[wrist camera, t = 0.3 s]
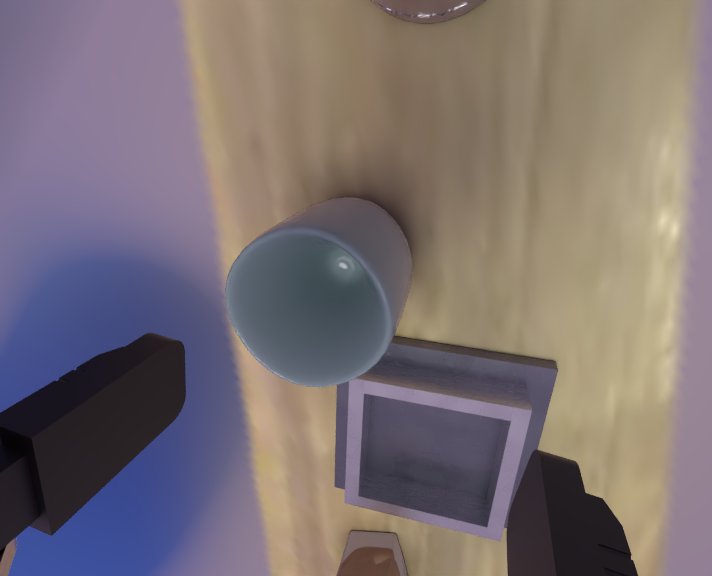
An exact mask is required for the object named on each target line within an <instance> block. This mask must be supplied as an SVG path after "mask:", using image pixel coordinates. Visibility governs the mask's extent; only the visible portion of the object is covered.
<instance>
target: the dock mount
mask: <svg viewBox="0 0 712 576" xmlns="http://www.w3.org/2000/svg"><path fill="white" fill-rule="evenodd" d="M557 372H558V368H557V365H556V362H555V361H549V360H543V359H537V358H530V357H524V356H517V355H511V354H505V353H498V352H492V351H486V350H479V349H473V348H466V347H460V346H454V345H447V344H441V343H435V342H428V341H422V340H415V339H409V338H403V337H396V336H394V337H393V340H392V342H391V344H390V346H389V348H388V349H387V351H386V352H385V353H384V355H383V356H382V357H381V359H380V360H379V361H378V362H377V363H376V364H375V365H374V366H373V367H372V368H370V369H369V370H368V371H367V372H366V373H364V374H362V375H360V376H359V377H357V378H355V379H353V380H351V381H348V382H345V383H342V384H339V385H337V409H336V449H335V487H337V488H341V489H345V503H346V504H350V505H354V506H358V507H363V508H367V509H371V510H375V511H379V512H383V513H387V514H391V515H395V516H399V517H403V518H407V519H411V520H415V521H419V522H423V523H427V524H431V525H436V526H440V527H444V528H448V529H452V530H456V531H460V532H464V533H468V534H472V535H476V536H480V537H484V538H488V539H492V540H496V541H500V540H501V536H502V532H503V528H507V524H508V517H509V512H510V508H511V505H512V502H513V499H514V497H515V494H516V492H517V489H518V487H519V484H520V481H521V479H522V476H523V474H524V471H525V469H526V466H527V464H528V461H529V458H530V456H531V454H532V452H533V451H534V450H537V449H538V445H539V441H540V437H541V434H542V430H543V426H544V422H545V418H546V414H547V410H548V407H549V403H550V399H551V395H552V391H553V387H554V384H555V380H556V376H557Z"/></svg>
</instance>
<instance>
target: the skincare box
mask: <svg viewBox="0 0 712 576" xmlns="http://www.w3.org/2000/svg"><path fill="white" fill-rule="evenodd" d="M336 576H407V571H406V567H405V563H404V559H403V556H402V552H401V549H400V545H399V542H398V539H397V536H396V534H395V533H381V532H365V531H351V532H350V534H349V537H348V541H347V544H346V547H345V550H344V553H343V556H342V560H341V563H340V566H339V569H338V572H337V575H336Z"/></svg>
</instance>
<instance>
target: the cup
mask: <svg viewBox="0 0 712 576" xmlns="http://www.w3.org/2000/svg"><path fill="white" fill-rule="evenodd" d="M411 278H412V257H411V251H410V248H409V245H408V242H407V239H406V237H405V235H404V233H403V231H402V229H401V227H400V226H399V225H398V223H397V222H396V221H395V219H394V218H393V217H392V216H391V215H390V214H389V213H388V212H387V211H386V210H385V209H383V208H381V207H380V206H378V205H377V204H375V203H373V202H371V201H368V200H365V199H362V198H353V197H343V198H335V199H330V200H327V201H324V202H321V203H318V204H315V205H312V206H310V207H308V208H306V209H304V210H302V211H300V212H298V213H296V214H295V215H293V216H291V217H289V218H287V219H286V220H284V221H282V222H280V223H279V224H277V225H275V226H273V227H272V228H270V229H268V230H267V231H265V232H264V233H262V234H261V235H259V236H258V237H257V238H256V239H255V240H253V241H252V242H251V243H250V244H249V245H248V246H246V247H245V248H244V250H243V251H242V252H241V253H240V255H239V256H238V257H237V259H236V260H235V261H234V263H233V265H232V267H231V269H230V272H229V274H228V277H227V282H226V288H225V294H226V306H227V309H228V313H229V317H230V320H231V322H232V324H233V327H234V329H235V331H236V333H237V335H238V336H239V338H240V339H241V341H242V342H243V344H244V345H245V347H246V348H247V349H248V350H249V352H250V353H251V354H252V355H253V356H254V357H255V359H256V360H258V361H259V362H260V363H261V364H262V365H263V366H264V367H266V368H267V369H268V370H269V371H271V372H272V373H274V374H276V375H277V376H279V377H280V378H282V379H285V380H287V381H289V382H292V383H294V384H298V385H303V386H308V387H327V386H333V385H339V384H342V383H345V382H348V381H351V380H353V379H355V378H357V377H359V376H360V375H362V374H364V373H366V372H367V371H368V370H369V369H370V368H372V367H373V366H374V365H375V364H376V363H377V362H378V361H379V360H380V359H381V357H382V356H383V355H384V353H385V352H386V351H387V349H388V348H389V346H390V344H391V342H392V340H393V337H394V335H395V332H396V330H397V327H398V325H399V322H400V319H401V317H402V314H403V311H404V308H405V305H406V302H407V299H408V296H409V292H410V286H411Z"/></svg>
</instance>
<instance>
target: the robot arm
mask: <svg viewBox="0 0 712 576" xmlns="http://www.w3.org/2000/svg"><path fill="white" fill-rule="evenodd" d="M372 1H373V2H374V3H375V4H376V5H377V6H379V7H380V8H382V9H383V10H384V11H386V12H387V13H389V14H390V15H393V16H395V17H398V18H400V19H403V20H405V21H409V22H417V23H434V22H442V21H447V20H450V19H452V18H455V17H458V16H461V15H463V14H465V13H467V12H469V11H470V10H472V9H474V8H475V7H477V6H478V5H480V4H482V3H483V2H484V1H485V0H372ZM185 389H186V386H185V349H184V345H183V344H182V342H180V341H178V340H174V339H171V338H168V337H164V336H161V335H158V334H154V333H148V334H145V335H143V336H142V337H140V338H138V339H137V340H135V341H134V342H132V343H130V344H129V345H127V346H125V347H121V348H117V349H115V350H111V351H109V352H106V353H102V354H99V355H97V356H95V357H94V358H92V359H90V360H89V361H87V362H85V363H83V364H82V365H80V366H78V367H77V369H76V370H72V371H70V372H68V373H67V374H65V375H63V376H62V377H60V378H59V380H58V381H53V382H51V383H50V384H48V385H47V386H45V387H43V388H41V389H40V390H38V391H36V392H35V393H33V394H31V395H30V396H28V397H26V398H24V399H23V400H21V401H19V402H18V403H16V404H14V405H13V406H11V407H9V408H8V409H6V410H4V411H3V412H1V413H0V576H8V573H9V570H10V567H11V564H12V561H13V558H14V555H15V552H16V548H17V540H16V537H17V536H18V535H19V534H20V533H21V532H22V531H23V530H24V529H26V528H27V527H28V526H31V527H33V528H35V529H38V530H40V531H42V532H44V533H46V534H49V535H53V534H54V533H55V532H56V531H57V530H58V529H59V528H60V527H61V526H62V525H64V523H66V522H67V521H68V520H69V519H70V518H71V517H72V516H73V515H74V514H75V513H76V512H77V511H78V510H79V509H80V508H82V507H83V506H84V505H85V504H86V503H87V502H88V501H89V500H90V499H91V498H92V497H93V496H94V495H95V494H97V493H98V492H99V491H100V490H101V489H102V488H103V487H104V486H105V485H106V484H107V483H108V482H109V481H110V480H111V479H112V478H114V476H116V475H117V474H118V473H119V472H120V471H121V470H122V469H123V468H124V467H125V466H126V465H127V464H128V463H129V462H130V461H132V460H133V459H134V457H136V456H137V455H138V454H139V453H140V452H141V451H142V450H143V449H144V448H145V447H146V446H147V445H148V444H150V443H151V442H152V441H153V440H154V439H155V438H156V437H157V436H158V435H159V434H160V433H161V432H162V431H163V430H164V429H166V428H167V427H168V426H169V425H170V424H171V423H172V422H173V421H174V420H175V419H176V417H177V416H178V414H179V413H180V411H181V409H182V407H183V404H184V401H185V396H186V390H185ZM507 564H508V576H638V574H637V571H636V568H635V565H634V561H633V560H631V552H630V549H629V546H628V543H627V539H626V536H625V533H624V530H623V527H622V525H621V524H620V522H619V521H618V519H617V518H616V517H615V515H614V514H613V512H612V511H611V510H610V508H609V507H608V505H607V504H606V503H605V501H604V500H603V498H599V497H596V496H593V495H590V494H587V493H585V489H584V485H583V481H582V477H581V473H580V469H579V466H578V464H577V462H576V461H573V460H570V459H566V458H563V457H560V456H556V455H553V454H550V453H546V452H543V451H540V450H534V451H533V452H532V454H531V456H530V458H529V461H528V464H527V466H526V469H525V471H524V474H523V476H522V479H521V481H520V484H519V487H518V489H517V492H516V494H515V497H514V499H513V502H512V505H511V508H510V512H509V517H508V524H507Z"/></svg>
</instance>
